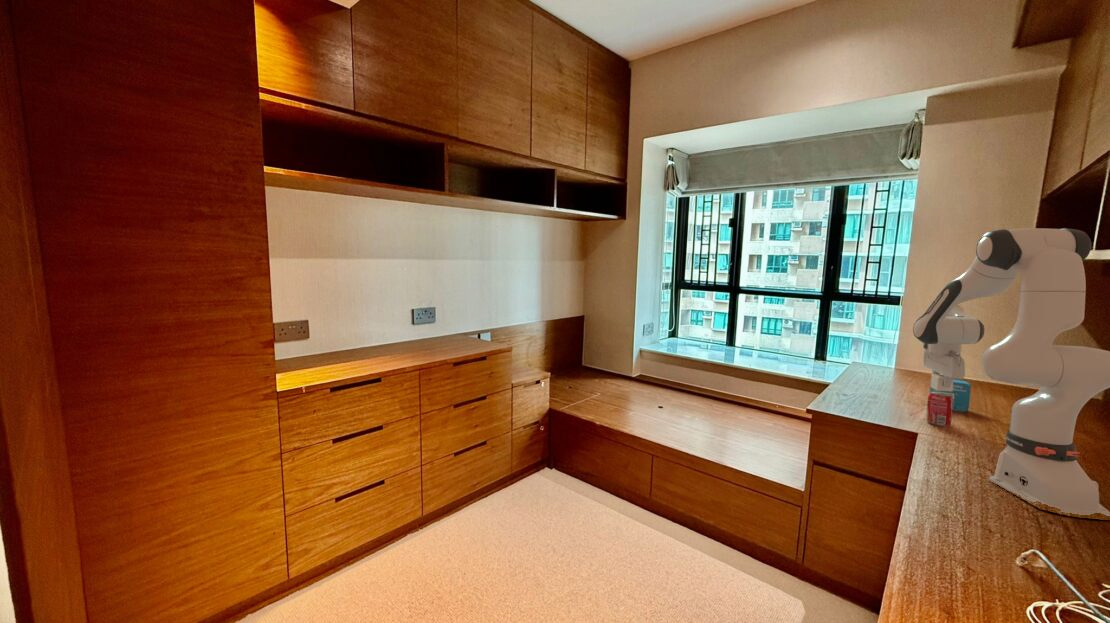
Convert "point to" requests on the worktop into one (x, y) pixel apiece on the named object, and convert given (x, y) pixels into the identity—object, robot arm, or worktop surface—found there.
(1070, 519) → the worktop surface
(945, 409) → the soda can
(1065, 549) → the worktop surface
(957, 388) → the data package
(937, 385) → the cream block
